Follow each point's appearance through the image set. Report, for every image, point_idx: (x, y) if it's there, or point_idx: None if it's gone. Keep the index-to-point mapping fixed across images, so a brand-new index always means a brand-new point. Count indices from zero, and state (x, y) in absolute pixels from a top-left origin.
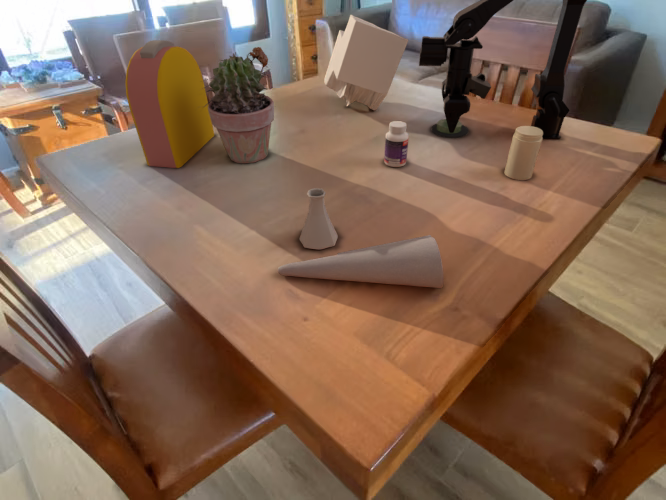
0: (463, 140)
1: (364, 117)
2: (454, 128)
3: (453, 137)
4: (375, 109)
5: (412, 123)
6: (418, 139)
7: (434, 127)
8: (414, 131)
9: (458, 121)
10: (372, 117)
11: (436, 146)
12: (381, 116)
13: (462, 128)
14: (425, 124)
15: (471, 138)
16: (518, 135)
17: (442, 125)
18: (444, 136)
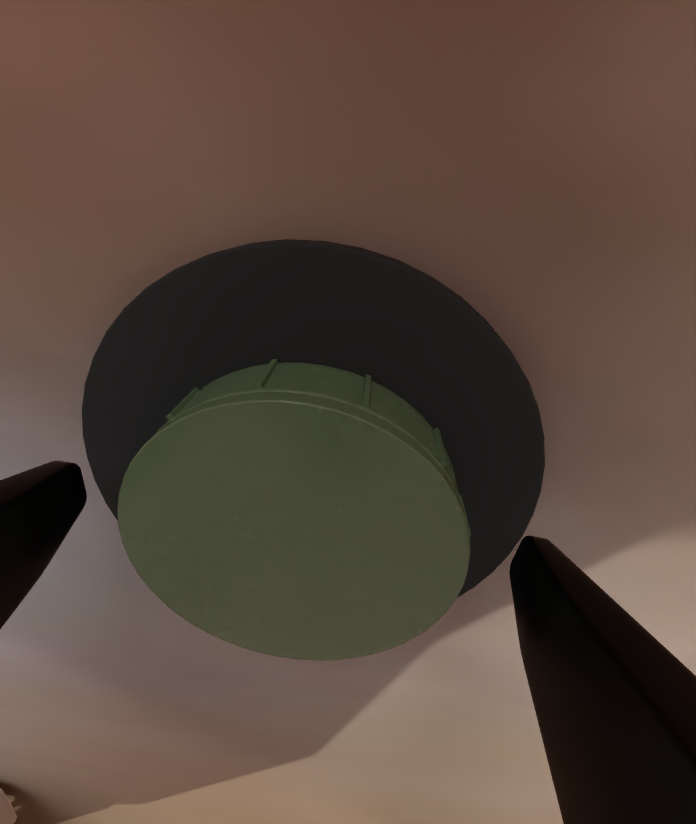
0: (643, 388)
1: (121, 819)
2: (599, 597)
3: (533, 486)
4: (2, 802)
5: (159, 682)
6: (489, 708)
7: None
8: (325, 699)
9: (205, 433)
10: (110, 800)
11: (683, 645)
12: (78, 774)
13: (282, 333)
14: (161, 619)
15: (614, 255)
16: None
17: (370, 635)
18: (490, 561)
